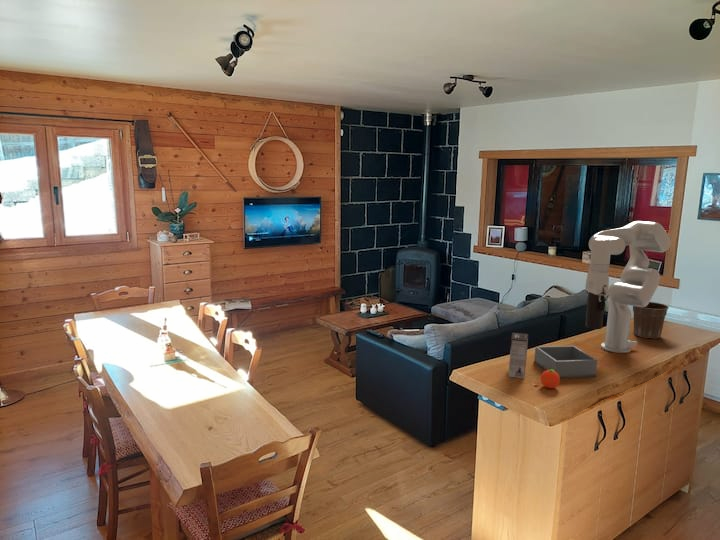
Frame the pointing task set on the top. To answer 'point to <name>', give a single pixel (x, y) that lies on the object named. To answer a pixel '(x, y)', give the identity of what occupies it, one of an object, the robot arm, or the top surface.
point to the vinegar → (593, 313)
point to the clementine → (550, 378)
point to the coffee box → (518, 355)
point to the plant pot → (649, 320)
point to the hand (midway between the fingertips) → (595, 307)
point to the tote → (566, 361)
